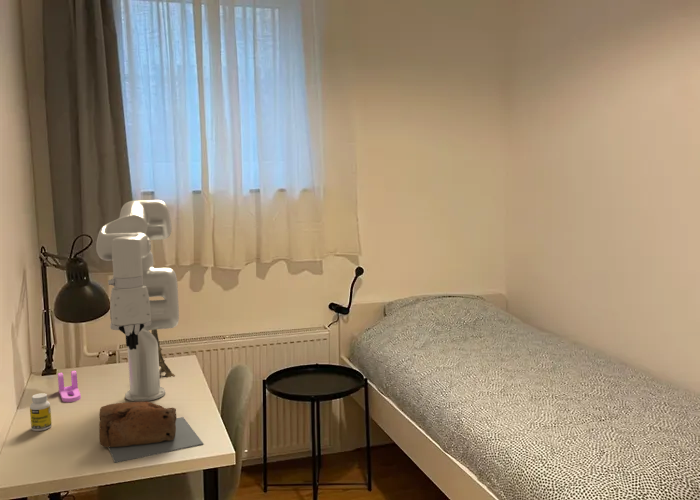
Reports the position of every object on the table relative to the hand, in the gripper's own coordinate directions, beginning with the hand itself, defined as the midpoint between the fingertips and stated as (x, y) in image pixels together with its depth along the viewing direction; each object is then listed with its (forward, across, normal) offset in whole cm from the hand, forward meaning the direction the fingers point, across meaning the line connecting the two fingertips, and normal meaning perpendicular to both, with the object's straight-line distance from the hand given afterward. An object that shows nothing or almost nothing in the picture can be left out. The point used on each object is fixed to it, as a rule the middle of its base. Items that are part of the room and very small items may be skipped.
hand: (132, 348), depth 183 cm
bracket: (+27, -13, +46) cm, 55 cm away
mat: (+26, +3, -3) cm, 26 cm away
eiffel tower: (+27, +17, +55) cm, 64 cm away
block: (+20, -10, -1) cm, 22 cm away
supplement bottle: (+26, -23, +21) cm, 41 cm away
